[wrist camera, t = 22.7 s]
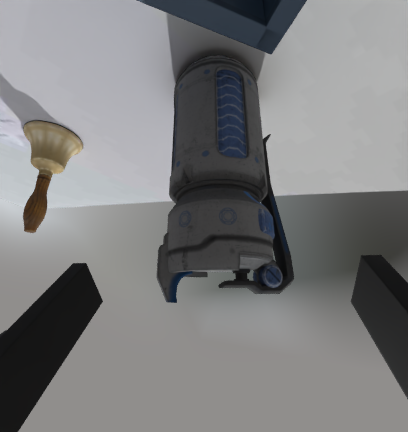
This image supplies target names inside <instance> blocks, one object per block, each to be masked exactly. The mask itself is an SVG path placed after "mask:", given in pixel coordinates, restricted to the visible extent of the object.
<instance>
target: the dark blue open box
mask: <svg viewBox="0 0 408 432" xmlns="http://www.w3.org/2000/svg"><path fill="white" fill-rule="evenodd" d="M137 1H140V2H142V3H145V4H147V5H150V6H152V7H154V8H157V9H159V10H162V11H164V12H167V13H169V14H172V15H174V16H177V17H179V18H182V19H184V20H187V21H189V22H192V23H194V24H197V25H199V26H202V27H204V28H207V29H209V30H212V31H214V32H217V33H219V34H222V35H224V36H227V37H229V38H232V39H234V40H237V41H239V42H242V43H244V44H247V45H249V46H251V47H254V48H256V49H259V50H261V51H264V52H266V53H269V54H272V53H273V51H274V50H275V48H276V47H277V45H278V44H279V42H280V41H281V39H282V38H283V36H284V35H285V33H286V31H287V30H288V28H289V27H290V25H291V24H292V22H293V21H294V19H295V18H296V16H297V15H298V13H299V12H300V10H301V8H302V7H303V5H304V4H305V2H306V1H307V0H137Z"/></svg>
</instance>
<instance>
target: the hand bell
mask: <svg viewBox="0 0 408 432" xmlns="http://www.w3.org/2000/svg"><path fill="white" fill-rule="evenodd" d="M23 131H24V134H25V136H26V138H27V139H28V140H29V141H30V144H31V149H32V153H31V164H32V165H33V166H34V167H35V168H37V169H38V170H39V175H38V177H37V178H38V179H37V182H36V187H35V190H34V192H33V194H32V195H31V196H30V198H29V199H28V201H27V203H26V206H25V209H24V213H23V219H24V231H25V232H30V233H34V232H36V230H37V228H38V227H39V225H40V224H41V222H42V221H43V219H44V217H45V214H46V210H47V190H48V187H49V183H50V181H51V178H52V174H58V173H61V172H63V171H64V169H65V166H66V164H67V162H68V160H69V159H70V158H71V157H72V156H73V155H76V154H78V153H79V152H80V151H81V150H82V149H83V144H82V142H81V140H80V139H79V138H78V137H77V136H76V135H75V134H74V133H72V132H71V131H69V130H67V129H66V128H63V127H61V126H59V125H56V124H53V123H49V122H43V121H32V122H29V123H27V124H25V125H24V128H23Z"/></svg>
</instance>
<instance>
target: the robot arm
mask: <svg viewBox="0 0 408 432" xmlns="http://www.w3.org/2000/svg"><path fill="white" fill-rule="evenodd" d="M102 302H103V301H102V298H101V296H100V294H99V291H98V289H97V287H96V285H95V282H94V280H93V278H92V275H91V273H90V271H89V269H88V266H87V264H86V263H73V264H72V265H71V266H70V267H69V268H68V269H67V270H66V271H65V272H64V273H63V274H62V275H61V276H60V277H59V278H58V279H57V280H56V281H55V282H54V283H53V284H52V285H51V286H50V287H49V288H48V290H46V291H45V292H44V293H43V294H42V295H41V296H40V297H39V298H38V300H37V301H35V302H34V303H33V304H32V306H31V307H30V308H29V309H28V310H27V311H26V312H25V313H24V314H23V315H22V316H21V317H20V318H19V319H18V320H17V321H16V322H15V323H14V324H13V325H12V326H11V327H10V328H9V329H8V330H6V331H4V332H3V333H1V334H0V432H18V431H19V429H20V428H21V426H22V425H23V423H24V422H25V420H26V418H27V417H28V415H29V414H30V412H31V411H32V409H33V408H34V406H35V405H36V403H37V402H38V400H39V399H40V397H41V396H42V394H43V392H44V391H45V389H46V388H47V386H48V385H49V383H50V382H51V380H52V378H53V377H54V375H55V374H56V372H57V371H58V369H59V368H60V366H61V365H62V363H63V362H64V360H65V359H66V357H67V356H68V354H69V353H70V351H71V350H72V348H73V346H74V345H75V343H76V342H77V340H78V339H79V337H80V335H81V334H82V332H83V331H84V330H85V328H86V327H87V325H88V323H89V322H90V320H91V319H92V317H93V316H94V314H95V313H96V311H97V310H98V308H99V307H100V305H101V303H102ZM351 303H352V305H353V306H354V308H355V310H356V311H357V313H358V315H359V317H360V318H361V320H362V322H363V323H364V325H365V327H366V328H367V330H368V332H369V334H370V335H371V337H372V339H373V340H374V342H375V344H376V346H377V347H378V349H379V350H380V353H381V354H382V356H383V357H384V359H385V361H386V363H387V364H388V366H389V368H390V370H391V371H392V373H393V375H394V377H395V378H396V380H397V382H398V383H399V385H400V387H401V388H402V390H403V392H404V394H405V395H406V397H407V399H408V283H407V282H406V281H405V280H404V279H403V277H402V276H401V275H400V274H399V273H398V272H397V271H396V270H395V269H394V268H393V267H392V266H391V265H390V264H389V263H388V262H387V261H386V260H385V259H384V258H383V257H382V255H366V256H363V255H362V256H361V259H360V263H359V268H358V272H357V277H356V281H355V286H354V290H353V295H352V299H351Z"/></svg>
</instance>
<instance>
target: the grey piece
mask: <svg viewBox="0 0 408 432" xmlns="http://www.w3.org/2000/svg"><path fill="white" fill-rule="evenodd" d="M270 135H271V134H270ZM270 135H268V136H267V137H265V138H264V139H263V137H262V127H261V117H260V107H259V97H258V87H257V83H256V79H255V77H254V76H253V74H252V72H251V71H250V70H249V69H248V68H247V67H246V66H244V65H243V64H242V63H240V62H239V61H237V60H236V59H233V58H227V57H226V56H220V55H219V56H209V57H204V58H202V59H199V60H197V61H196V63H193V64H191V65H190V66H189V67H188V68H187V69H186V70H185V71H184V72H183V73H182V74H181V75H180V77H179V79H178V81H177V82H176V86H175V91H174V131H173V151H172V171H171V176H170V188H169V195H170V198H171V199H172V200H173V201H174V202H175V203H176V205H175V206H174V207H173V209H172V210H171V211H170V213H169V215H168V229H167V233H166V234H165V236H164V240H163V245H161V246H160V247H159V250H158V263H157V280H158V283H159V285H160V287H161V290H162V292H163V295H164V297H165V300H166V302H174V303H177V299H176V292H177V285H178V283H179V281H180V280H181V278H183V277H184V276H186V277H207V272H233V273H236V279H234V281H224V282H222V283H221V284H219V288H248V289H249V290H251V291H252V292H254V293H255V294H275V293H276V294H280V293H281V292H282V291H283V290H284V289H285V288H286V287H287V286H289V285H290V284H291V282H292V281H293V280H294V274H293V267H292V260H291V255H290V251H289V248H288V244H287V240H286V237H285V233H284V230H283V226H282V223H281V219H280V215H279V212H278V209H277V205H276V201H275V198H274V194H273V190H272V187H271V183H270V175H269V167H268V159H267V151H266V142H267V140H268V138H269V137H270ZM260 202H261V203H260ZM272 247H273V250H272ZM273 251H274V255H275V260H276V262H275V261H274V260H273ZM250 270H253V271H254V273H253V279H254V281H249V279H247V273H249V272H250Z"/></svg>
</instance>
